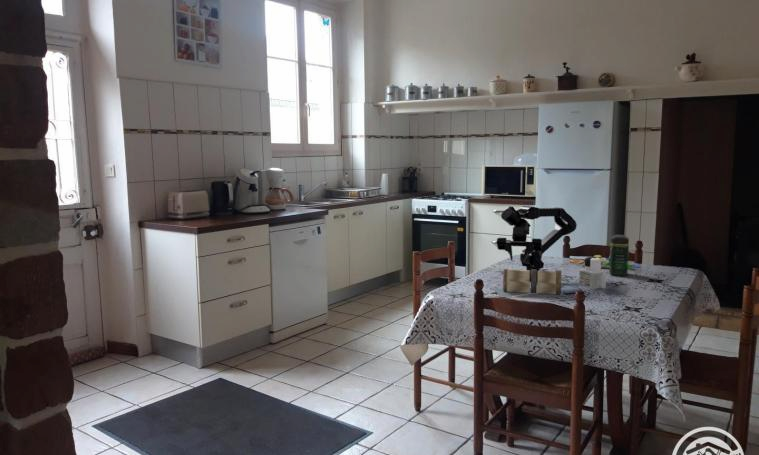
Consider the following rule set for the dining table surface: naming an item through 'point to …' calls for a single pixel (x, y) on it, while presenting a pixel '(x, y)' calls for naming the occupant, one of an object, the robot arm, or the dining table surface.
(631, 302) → the dining table surface
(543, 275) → the fixed fence section
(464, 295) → the dining table surface
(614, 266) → the coffee jar
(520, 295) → the card
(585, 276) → the container
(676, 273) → the dining table surface
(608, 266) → the shape sorter
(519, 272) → the hinged fence panel
